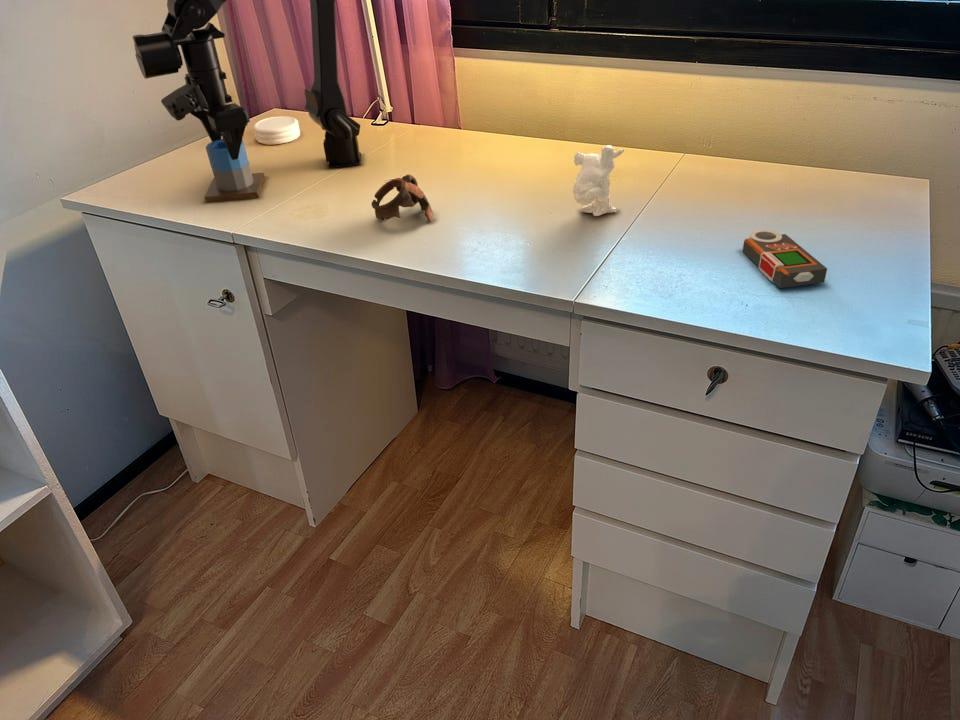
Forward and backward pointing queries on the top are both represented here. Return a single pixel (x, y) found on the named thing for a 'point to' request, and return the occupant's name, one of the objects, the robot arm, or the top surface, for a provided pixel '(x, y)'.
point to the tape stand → (246, 193)
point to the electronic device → (783, 259)
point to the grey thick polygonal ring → (233, 178)
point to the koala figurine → (595, 180)
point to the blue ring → (225, 156)
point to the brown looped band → (401, 198)
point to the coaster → (276, 130)
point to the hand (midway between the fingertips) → (226, 152)
